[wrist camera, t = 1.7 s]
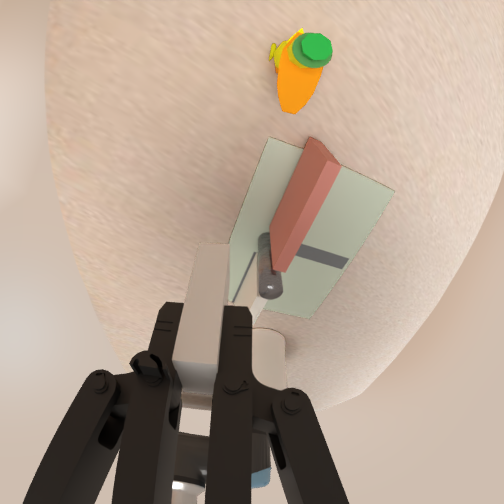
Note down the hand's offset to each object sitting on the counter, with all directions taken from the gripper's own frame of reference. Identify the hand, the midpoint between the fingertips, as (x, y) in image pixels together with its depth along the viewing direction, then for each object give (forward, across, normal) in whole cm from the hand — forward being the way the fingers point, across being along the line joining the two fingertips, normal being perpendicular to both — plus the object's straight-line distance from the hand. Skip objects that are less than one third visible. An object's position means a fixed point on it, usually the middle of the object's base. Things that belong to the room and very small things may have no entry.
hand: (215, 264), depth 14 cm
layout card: (+15, +7, -10) cm, 19 cm away
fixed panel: (+15, +2, -15) cm, 21 cm away
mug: (+15, +3, -29) cm, 33 cm away
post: (+15, +4, -9) cm, 18 cm away
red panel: (+14, +6, -2) cm, 16 cm away
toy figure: (+15, +4, +10) cm, 19 cm away
